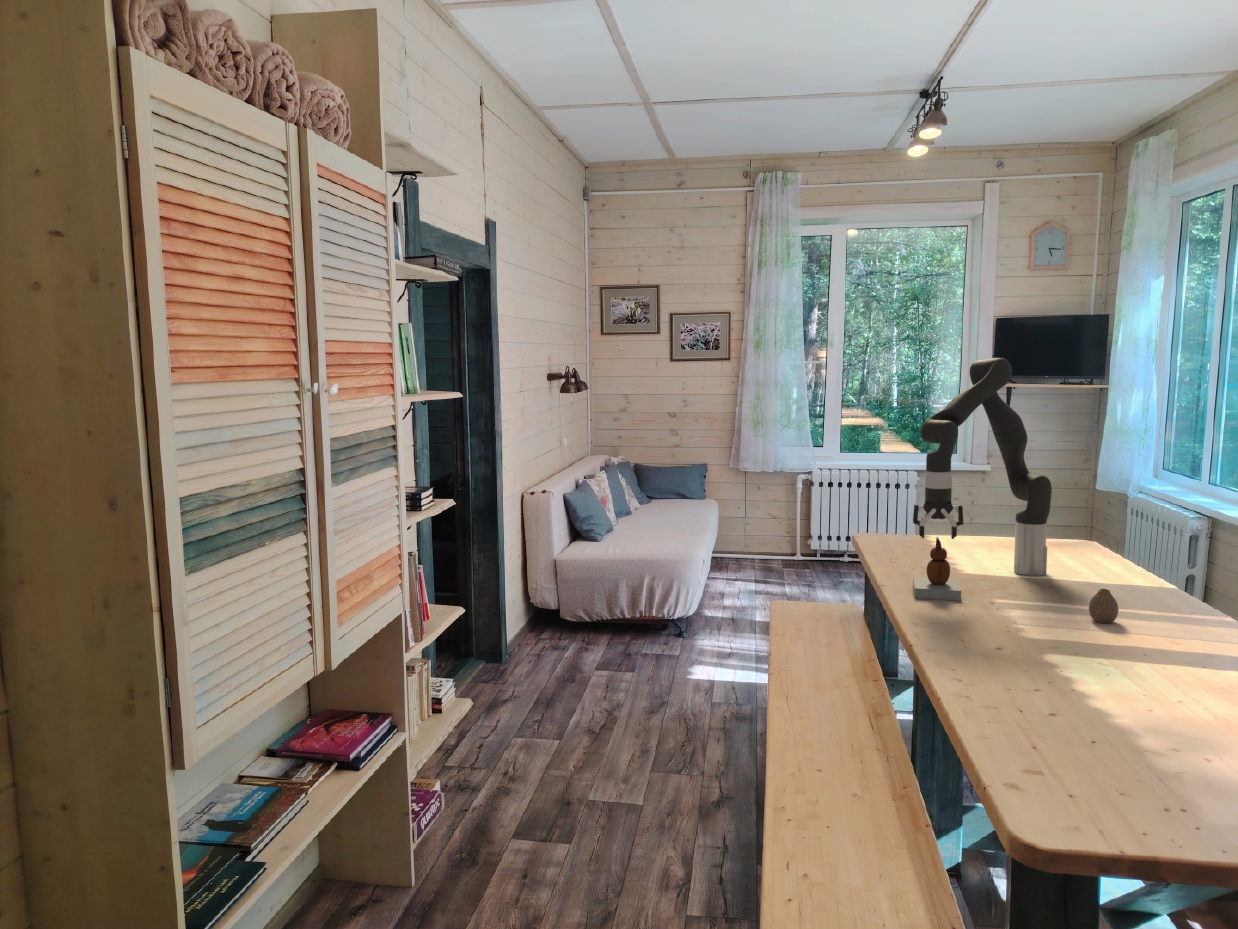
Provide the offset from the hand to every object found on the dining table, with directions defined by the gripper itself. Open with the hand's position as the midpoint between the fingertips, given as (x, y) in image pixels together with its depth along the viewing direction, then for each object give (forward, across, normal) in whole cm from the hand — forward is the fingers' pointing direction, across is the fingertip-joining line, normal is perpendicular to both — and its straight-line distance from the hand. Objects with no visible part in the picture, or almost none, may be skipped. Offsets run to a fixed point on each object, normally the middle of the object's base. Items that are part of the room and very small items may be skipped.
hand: (937, 538), depth 247 cm
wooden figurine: (+15, 0, 0) cm, 15 cm away
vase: (+18, -41, +19) cm, 48 cm away
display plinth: (+17, 0, 0) cm, 17 cm away
